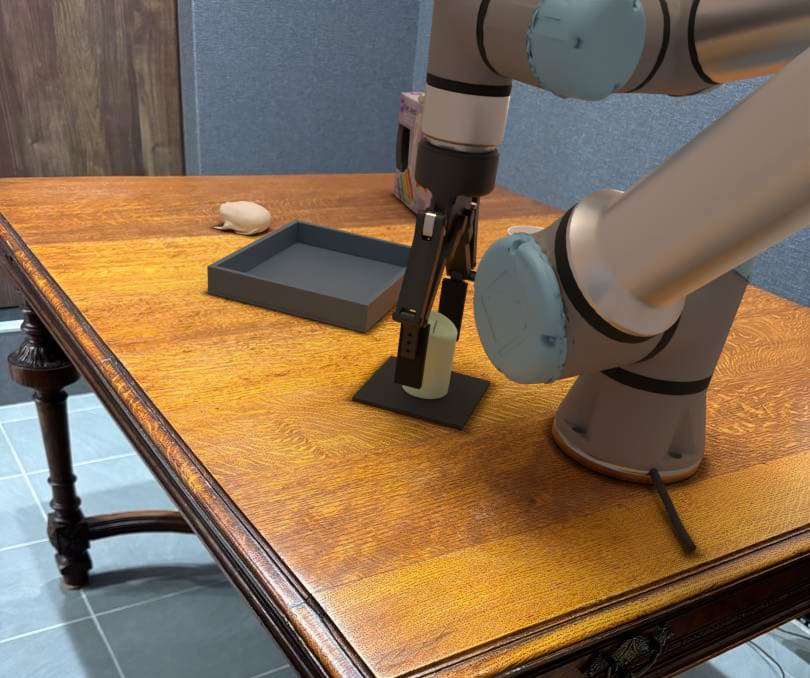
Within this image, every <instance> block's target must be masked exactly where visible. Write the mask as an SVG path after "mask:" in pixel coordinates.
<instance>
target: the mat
mask: <svg viewBox="0 0 810 678" xmlns="http://www.w3.org/2000/svg"><path fill="white" fill-rule="evenodd" d="M396 360H397V356H394V355H390V356H389V358H387V359H386V360H385V361H384V362H383V364H381V366H380V367H379V368H378V369H377V370H376V371H375V372H374V373H373V374H372V375H371V376H370V377H369V379H368V380H367V381H366V382H365V383H364V384H362V386H361V387H360V388H359V389H358V390H357V391H356V393H354V395H352V397H351V401H353V402H357V403H362V404H365V405H367V406H368V405H369V406H372V407H376V408H380V409H383V410H387V411H390V412H394V413H398V414H401V415H406V416H409V417H413V418H416V419H421V420H423V421H424V420H425V421H427V422H431V423H434V424H437V425H442V426H446V427H450V428H454V429H458V430H462V429H463V428H464V426H465V425H466V423H467V422H468V420H469V419H470V417H471V415H472V414H473V412H474V411H475V409H476V407H477V406H478V404H479V403H480V402H481V399H482V398H483V396H484V394H485V393H486V391H487V390H488V388H489V386H490V385H491V381H490V380H487V379H483V378H480V377H476V376H472V375H468V374H465V373H461V372H457V371H452V370H451V375H450V381H449V387H448V392H447V394H446V395H445V396H443V397H441V398H437V399H422V398H418V397H415V396H412V395H410V394H408V393H407V392H406V391H405V390H404V389H403V387H402V385H400V384H396V383H394V377H395V369H396Z"/></svg>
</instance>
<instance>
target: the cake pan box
mask: <svg viewBox="0 0 810 678" xmlns="http://www.w3.org/2000/svg"><path fill="white" fill-rule="evenodd" d="M422 92H423V91H408V92H400V98H399V108H398V109H399V112H398V128H397V132H396V142H395V143H396V144H395V171H394V173H395V174H394V185H393V195H394V196H395V197H396V198H397V199H398V200H399V201H401V202H402V203H403V204H404V205H405V206H406V207H407V208H408V209H410V211H412V212H413V213H414V214H415V215H417V213H418V211H419V210H420V209H421V210H426V208H427V207H428V208H429V206H430V202H431V199H432V193H431V192H430V191H429V190H428V189H427V188H423V187H421V186H420V185H418V184H417V182H416V181H415V178H414V174H415V165H416V157H417V148H418V142H419V141H421V139H422V138H424V137H426V136H425V135H424V134H423V132H422V131H421V129H420V127H421V119H422V111H423V105H422V104H420V103H419V101H418V97H419V95H420V93H422Z"/></svg>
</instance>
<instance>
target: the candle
mask: <svg viewBox="0 0 810 678" xmlns="http://www.w3.org/2000/svg"><path fill="white" fill-rule="evenodd" d="M412 311H413V312H416V311H415V310H412ZM428 324H431V325H430V332H429V339H428V346H427V353H426V360H425V367H424V374H423V381H422V387H421V388H420V389H415V388H412V387H408V386H404V385H402V387H403V389H404V390H405V391H406V392H407V393H408V394H410V395H412V396H415V397H418V398H422V399H437V398H441V397H443V396H445V395H446V394H447V392H448V387H449V381H450V375H451V371H452V369H453V363H454V356H455V350H456V344H457V342H456V339H457V329H456V327H455V325H454V324H453V323H452V322H451V321H450V320H449V319H448V318H447V317H445V316H444V315H442V314H441V313H438V311H437V310H434V309H431V313H430V316H429V319H428Z"/></svg>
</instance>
